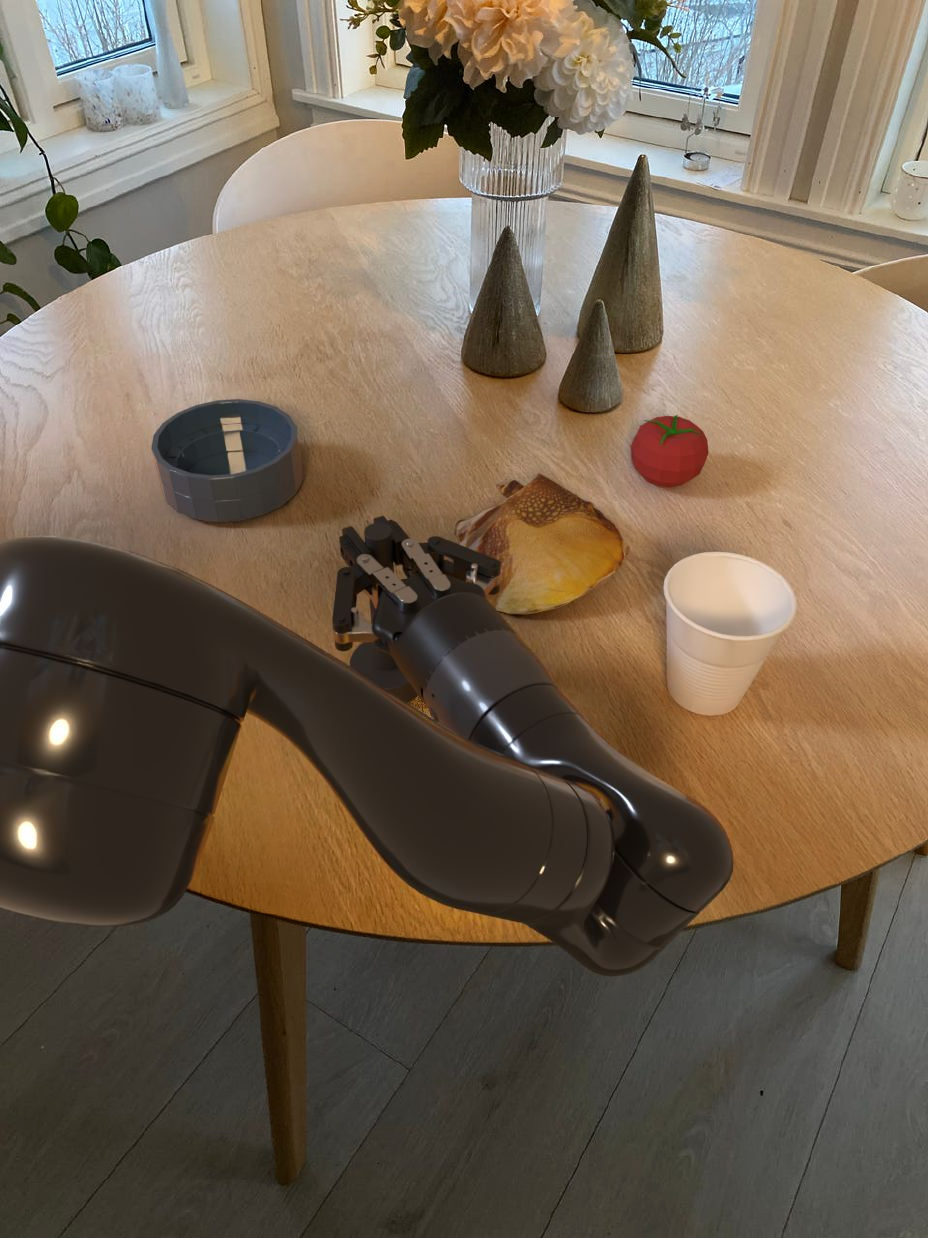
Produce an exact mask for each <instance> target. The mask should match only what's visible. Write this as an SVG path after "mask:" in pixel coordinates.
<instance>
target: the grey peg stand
mask: <svg viewBox="0 0 928 1238" xmlns="http://www.w3.org/2000/svg"><path fill="white" fill-rule="evenodd" d="M363 537H364V542H365V544H366V545H367V546H368V547H369V548H370V550H371V551H372V556H373V557H374V558H375V559H376V560H377V561H378V562H379V563H380V564H381V566H382V567H383V568H385V567H388V568H389V569H390V570H391V571H392V572H393V573H394V574H395V565H394V564H395V563H394V561H393V542H392V529H391V528H390V526H388V525H387V524H384V523H374V522H373V523H370V524H368V525H366V527H365V528H364V531H363ZM368 600H369V613H370V623H373V619H374V615H375V611H376V609H375V607H374V605H373V602H372V600H371V599H370V598H369V597H368ZM349 666H351V667H352V668H354V669H356V670H357V671H359V672H360V673H362V674H364V675H365V676H367V677H368V678H370V679H371V680H373V681H375V682H376V683H378V684H379V685H381V686H382V687H384V688H385V689H387V690H389V691H390V692H392V693H393V694H395V695H396V696H398V697H399V698H401V699H403V700H404V701H406V702H407V703H410V702H411V701H413V700H414V699H416V698H417V697H418V696H419V695H418V694H417V693H416V691H415V690H414V689H413V687H412V686H411V684H410V683H409V682H408V680H407V679H406V677H405V676H404V675H403V673H402V672H401V670H400V669H399V667H398V666H397V664H396V662H395V661H394V659H393V658H392V656H390V655H389V654H387V653H386V652H383V651H381V650H379V649H378V648H377V647H376V646H375V645H374V642H361V644H359V645H358V646H357V647H356V648H355V649H354V650H353V652H352V654H351V655H350V658H349Z"/></svg>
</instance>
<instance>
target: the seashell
mask: <svg viewBox="0 0 928 1238" xmlns="http://www.w3.org/2000/svg"><path fill="white" fill-rule="evenodd" d="M496 487H497V489H498V492H499V494H501V495H502V496H503V497H505V499H503V500H502V501H500V502H499V503H498V504H497V505H495V506H491V507H489V508H487V509H485V510H482V511H481V512H479V513H478V514H476V515H474V516H472V517H469V518H462V519H458V520H456V521H454V526H453V529H452V530H453V535H454V538H455V541H456V543H457V544H459V545H462V546H464V547H467V548H469V549H472V550H474V551H477V552H479V553H482V554H484V555H487V556H489V557H492V558H494V559H497V560H499V561H500V563H501V573H500V591H499V592H498V593H497V594H495V595H489V594H488V595H487V596H486V599H487V600H488V601H489V602H490V603H491V604H492V605H493V606H494V607H495V609H496V610H497V611H498V612H500V613H504V614H507V615H532V614H537V613H542V612H546V611H550V610H554V609H558V608H561V607H564V606H566V605H568V604H569V603H571V602H572V601H574V600H577V599H579V598H583V597H584V596H586V595H588V594H589V593H590V592H591V591H593V590H594V589H596V588H598V587H600V586H602V585H604V584H605V583H606V582H608V581H609V580H610V579H611V578H612V577H613V576H614V575H615V574H616V573H617V572H618V571H619V569H620V568H621V567H622V566H623V564H624V561H625V558H626V556H628V555H629V554H630V550H631V546H630V545H629V544H626V543H625V541H624V538H623V537H622V535H621V533H620V531H619V529H618V528H617V527H616V525H615V523H614V522H612V521H611V520H610V519H609V518H608V517H606V516H605V514H604V513H603V512H602V511H601V510H599V509H597V507H595V506H594V503H593V502H591V501H588V500H585V499H583V498H581V497H580V496H579V495H577V494H575V493H573V492H572V491H570V490H568V489H566V488H565V487H563V486H562V485H561V484H559V483H557V481H554V480H553V479H550V478H549V477H547V476H545V475H543V474H541V473H537V474H536V476H535V478H533V479H532V480H531V481H530V482H529V483H528V484H527V485H523V484H522V483H520V482H519V481H518V480H515V479H513V480H511V481H509V482H508V483H506V484H499V483H497V484H496Z"/></svg>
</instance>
